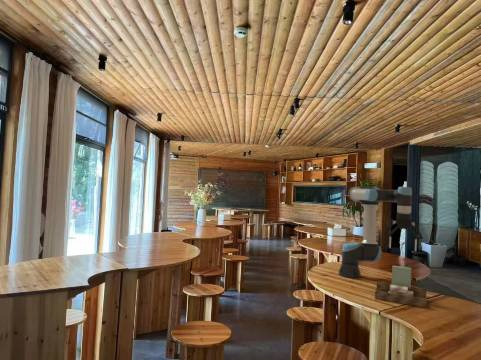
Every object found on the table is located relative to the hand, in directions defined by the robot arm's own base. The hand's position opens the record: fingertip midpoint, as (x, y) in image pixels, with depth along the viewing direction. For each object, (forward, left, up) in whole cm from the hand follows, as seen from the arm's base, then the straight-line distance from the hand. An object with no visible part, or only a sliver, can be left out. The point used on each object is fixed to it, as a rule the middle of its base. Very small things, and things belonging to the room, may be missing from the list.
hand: (402, 249), depth 200 cm
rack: (0, -5, -28) cm, 28 cm away
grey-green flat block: (0, 0, -27) cm, 27 cm away
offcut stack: (0, -7, -27) cm, 27 cm away
